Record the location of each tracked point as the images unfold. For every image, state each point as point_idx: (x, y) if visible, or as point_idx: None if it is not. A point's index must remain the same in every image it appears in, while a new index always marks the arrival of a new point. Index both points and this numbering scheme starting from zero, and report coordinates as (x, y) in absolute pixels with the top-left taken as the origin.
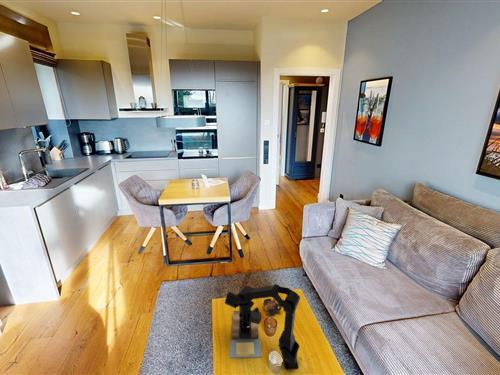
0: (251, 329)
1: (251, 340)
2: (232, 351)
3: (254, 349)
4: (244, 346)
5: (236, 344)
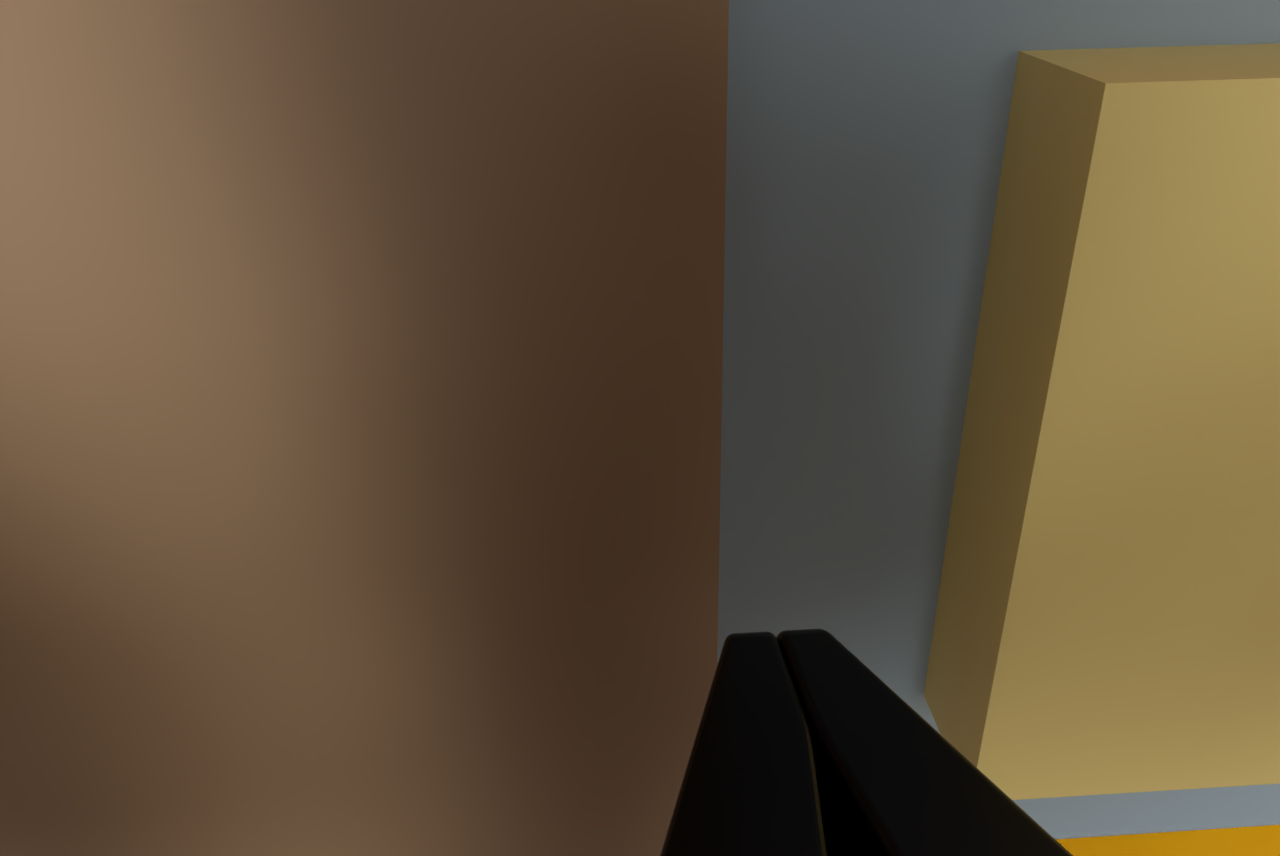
0: (367, 277)
1: (758, 164)
2: None
3: (1240, 12)
4: (1207, 523)
5: (1039, 794)
